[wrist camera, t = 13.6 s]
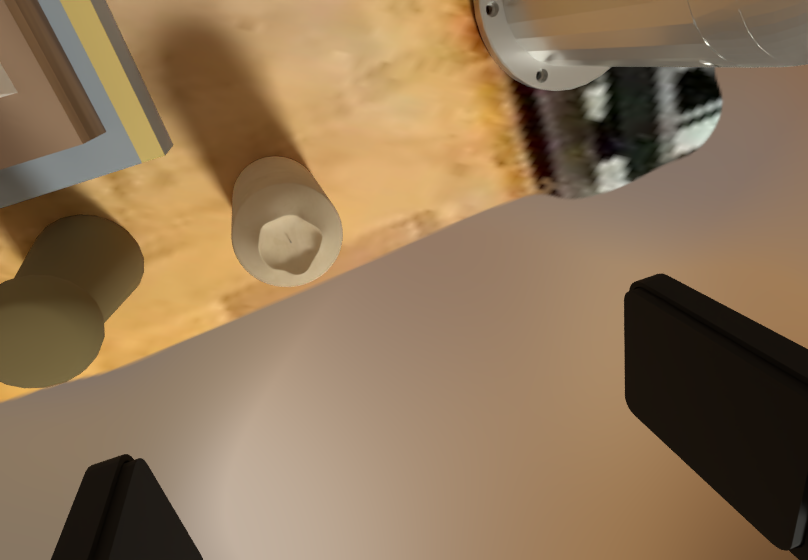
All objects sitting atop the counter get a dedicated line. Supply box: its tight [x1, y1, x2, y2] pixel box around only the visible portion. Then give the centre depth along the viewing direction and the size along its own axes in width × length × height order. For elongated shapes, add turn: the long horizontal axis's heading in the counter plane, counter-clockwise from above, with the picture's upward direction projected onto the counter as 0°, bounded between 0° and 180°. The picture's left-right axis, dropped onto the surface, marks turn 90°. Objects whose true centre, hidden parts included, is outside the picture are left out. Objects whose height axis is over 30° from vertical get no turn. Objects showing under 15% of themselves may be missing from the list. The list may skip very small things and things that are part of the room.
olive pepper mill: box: [0, 215, 144, 388], centre depth 27 cm, size 6×6×11 cm
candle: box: [232, 156, 343, 287], centre depth 29 cm, size 6×6×10 cm
